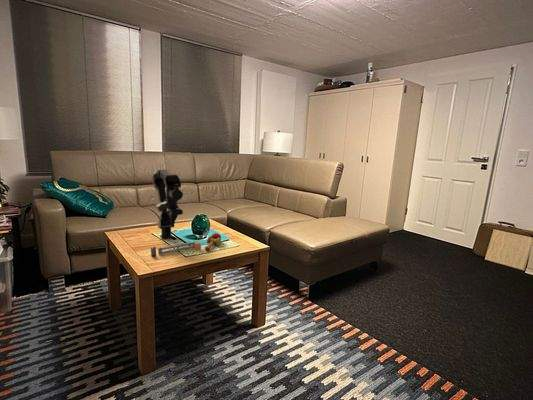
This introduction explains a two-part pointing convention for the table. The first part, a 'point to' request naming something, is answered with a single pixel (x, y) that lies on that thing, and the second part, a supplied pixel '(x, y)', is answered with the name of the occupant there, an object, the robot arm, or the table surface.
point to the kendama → (213, 241)
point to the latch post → (197, 246)
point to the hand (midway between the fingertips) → (172, 223)
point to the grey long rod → (175, 247)
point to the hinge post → (153, 251)
